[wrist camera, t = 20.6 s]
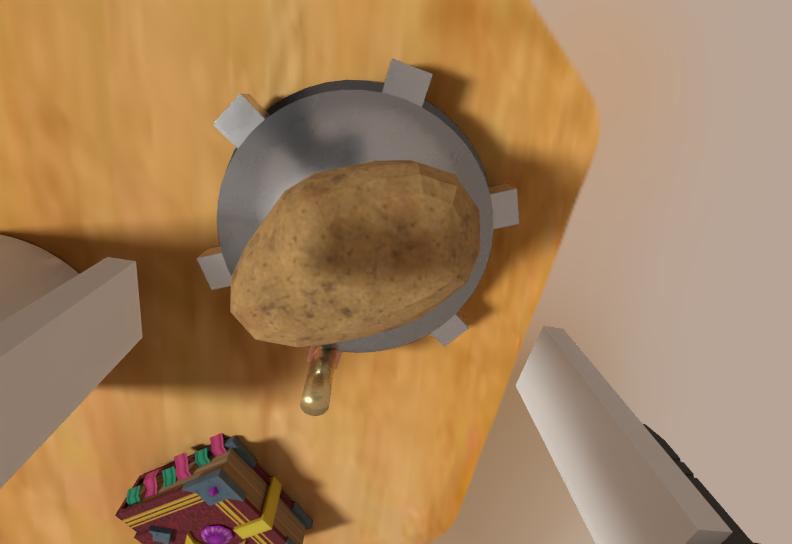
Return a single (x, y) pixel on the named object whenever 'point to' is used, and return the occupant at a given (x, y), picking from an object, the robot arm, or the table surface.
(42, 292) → the utensil holder
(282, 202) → the potato
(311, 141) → the sprocket
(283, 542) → the decorative book
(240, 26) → the table surface
